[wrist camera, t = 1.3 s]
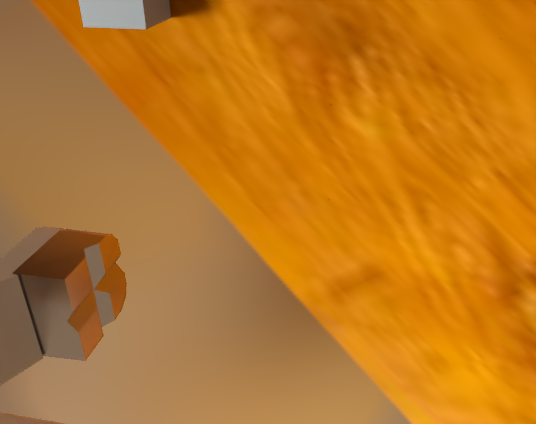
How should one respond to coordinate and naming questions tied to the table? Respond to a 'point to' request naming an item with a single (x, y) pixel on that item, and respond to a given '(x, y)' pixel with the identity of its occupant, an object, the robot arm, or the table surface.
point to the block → (124, 13)
